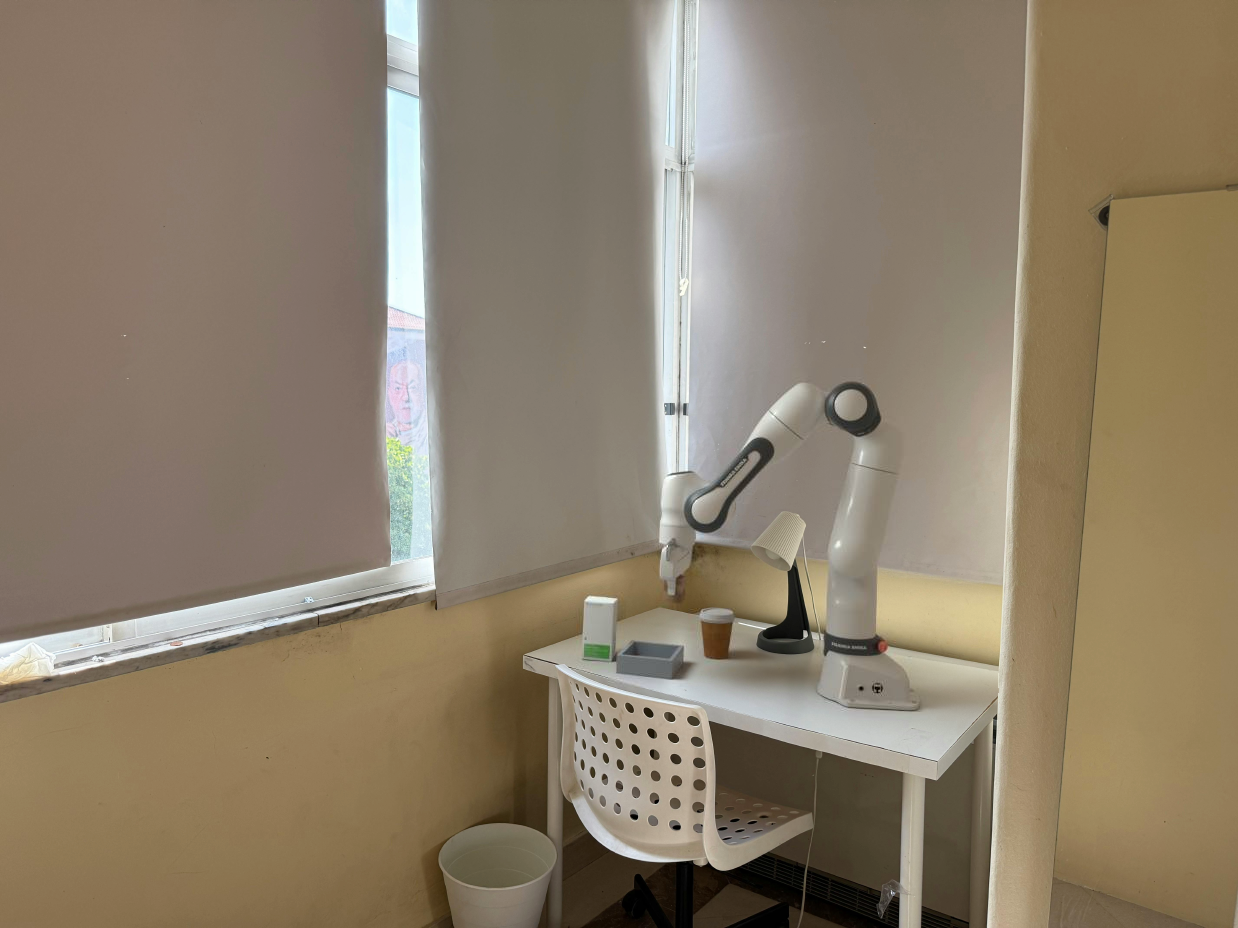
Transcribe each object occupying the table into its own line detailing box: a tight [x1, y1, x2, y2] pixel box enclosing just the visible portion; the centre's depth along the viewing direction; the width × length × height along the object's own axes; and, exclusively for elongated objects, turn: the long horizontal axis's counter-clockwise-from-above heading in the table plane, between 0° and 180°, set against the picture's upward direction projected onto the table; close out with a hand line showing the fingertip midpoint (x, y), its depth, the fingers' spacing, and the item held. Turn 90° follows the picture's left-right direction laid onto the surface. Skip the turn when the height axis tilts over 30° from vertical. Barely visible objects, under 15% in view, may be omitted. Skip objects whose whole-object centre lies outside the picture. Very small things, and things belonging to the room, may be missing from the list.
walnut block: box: [662, 574, 687, 604], centre depth 187 cm, size 4×4×6 cm
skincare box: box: [581, 595, 619, 663], centre depth 200 cm, size 8×7×16 cm
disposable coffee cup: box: [698, 607, 736, 660], centre depth 203 cm, size 10×10×12 cm
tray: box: [615, 639, 685, 680], centre depth 192 cm, size 14×14×4 cm
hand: (674, 591), depth 187 cm, fingers closed on walnut block, 4 cm apart
